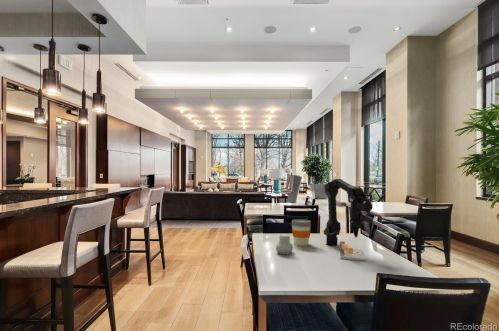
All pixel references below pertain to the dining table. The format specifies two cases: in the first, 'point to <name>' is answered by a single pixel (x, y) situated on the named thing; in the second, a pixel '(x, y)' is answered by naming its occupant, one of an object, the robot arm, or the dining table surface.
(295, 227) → the reusable coffee cup
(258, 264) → the dining table surface
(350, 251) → the cable arm
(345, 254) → the chassis board
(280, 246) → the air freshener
